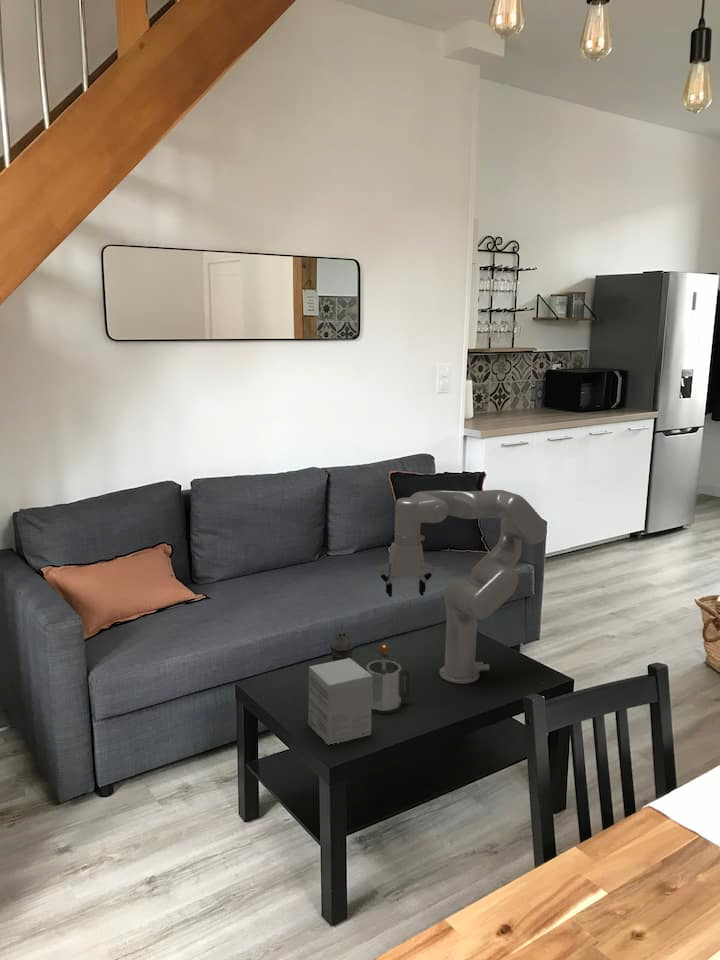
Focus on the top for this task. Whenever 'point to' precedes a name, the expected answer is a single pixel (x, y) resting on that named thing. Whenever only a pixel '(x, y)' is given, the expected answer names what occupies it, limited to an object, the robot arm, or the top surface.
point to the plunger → (384, 654)
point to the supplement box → (340, 701)
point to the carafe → (387, 686)
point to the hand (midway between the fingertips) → (405, 594)
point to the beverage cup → (341, 646)
